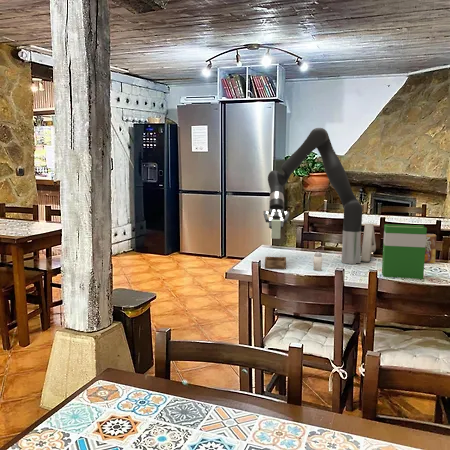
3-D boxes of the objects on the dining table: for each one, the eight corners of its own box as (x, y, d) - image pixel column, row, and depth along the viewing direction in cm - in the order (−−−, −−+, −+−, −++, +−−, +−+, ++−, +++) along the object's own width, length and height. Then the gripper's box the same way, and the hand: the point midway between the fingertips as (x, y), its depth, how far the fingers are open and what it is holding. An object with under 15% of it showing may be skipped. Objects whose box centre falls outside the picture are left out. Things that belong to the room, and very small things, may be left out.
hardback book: (420, 275, 217) (423, 225, 213) (423, 279, 210) (426, 228, 206) (381, 272, 221) (384, 224, 217) (383, 276, 214) (386, 226, 210)
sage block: (280, 237, 233) (280, 219, 231) (280, 238, 228) (280, 221, 227) (271, 236, 233) (271, 219, 232) (271, 238, 229) (271, 220, 227)
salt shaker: (321, 268, 228) (321, 251, 227) (322, 270, 224) (322, 252, 223) (313, 268, 229) (313, 251, 227) (313, 270, 225) (314, 252, 223)
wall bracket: (372, 281, 266) (369, 261, 241) (364, 280, 267) (360, 260, 243) (375, 247, 274) (373, 224, 250) (368, 246, 276) (365, 223, 251)
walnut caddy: (285, 264, 237) (285, 257, 236) (286, 269, 227) (286, 261, 227) (265, 264, 238) (265, 256, 237) (264, 268, 229) (265, 260, 228)
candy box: (432, 261, 244) (434, 233, 242) (435, 263, 240) (437, 235, 238) (415, 261, 246) (417, 233, 243) (417, 262, 241) (419, 234, 239)
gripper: (263, 197, 237) (261, 223, 227) (290, 197, 235) (290, 224, 225) (263, 206, 243) (261, 232, 233) (289, 206, 241) (290, 232, 231)
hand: (276, 228), depth 229 cm, fingers closed on sage block, 4 cm apart
